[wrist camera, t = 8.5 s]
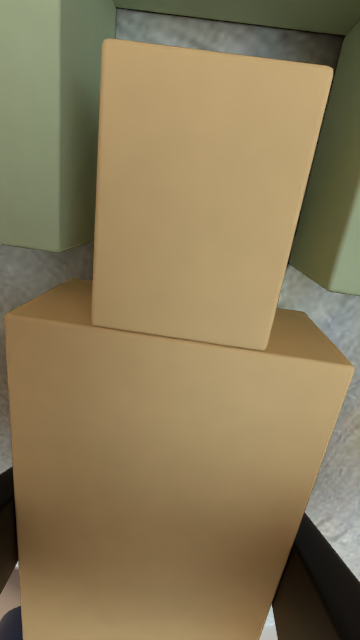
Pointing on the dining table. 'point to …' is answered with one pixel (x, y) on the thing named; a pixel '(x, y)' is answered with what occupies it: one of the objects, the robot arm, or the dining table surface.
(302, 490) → the sand pad
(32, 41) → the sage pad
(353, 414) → the dining table surface
